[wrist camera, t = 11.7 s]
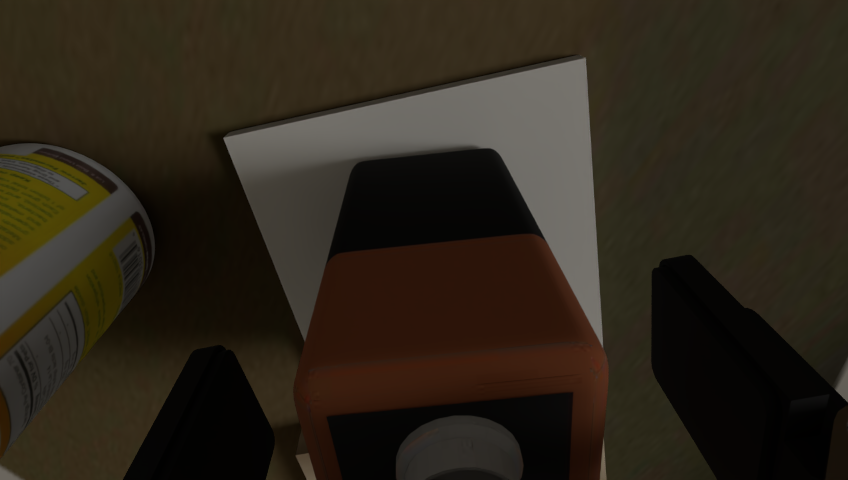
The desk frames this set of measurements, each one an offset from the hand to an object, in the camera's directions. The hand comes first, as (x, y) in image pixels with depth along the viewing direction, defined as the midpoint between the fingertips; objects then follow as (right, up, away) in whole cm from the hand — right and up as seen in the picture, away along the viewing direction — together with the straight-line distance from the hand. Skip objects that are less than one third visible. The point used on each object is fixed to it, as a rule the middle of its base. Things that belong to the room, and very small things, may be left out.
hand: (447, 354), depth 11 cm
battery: (0, +2, +5) cm, 5 cm away
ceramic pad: (0, +2, +5) cm, 6 cm away
